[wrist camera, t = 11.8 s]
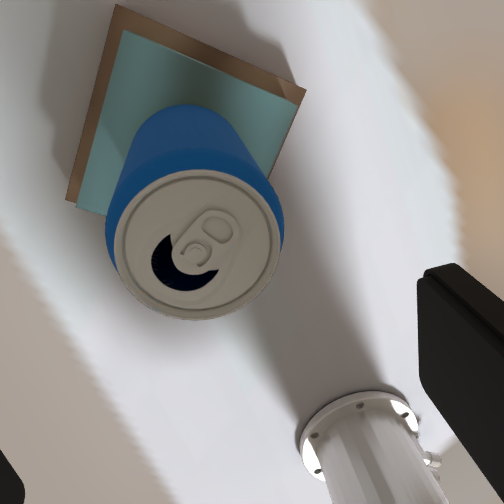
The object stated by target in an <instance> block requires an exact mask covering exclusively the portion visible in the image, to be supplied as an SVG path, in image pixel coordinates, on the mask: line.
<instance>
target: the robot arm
mask: <svg viewBox="0 0 504 504" xmlns="http://www.w3.org/2000/svg"><path fill="white" fill-rule="evenodd" d="M417 314H418V353H419V377H420V381H421V384H422V386H423V389H424V390H425V392H426V394H427V395H428V396H429V398H430V399H431V401H432V402H433V403H434V405H435V406H436V408H437V409H438V411H439V412H440V413H441V415H442V416H443V418H444V419H445V420H446V422H447V423H448V425H449V426H450V428H451V429H452V430H453V432H454V433H455V435H456V436H457V437H458V439H459V440H460V442H461V443H462V445H463V446H464V447H465V449H466V450H467V452H468V453H469V454H470V456H471V457H472V459H473V460H474V461H475V463H476V464H477V465H478V467H479V469H480V470H481V471H482V473H483V474H484V476H485V477H486V478H487V480H488V481H489V483H490V484H491V486H492V487H493V488H494V490H495V491H496V492H497V494H498V495H499V497H500V498H501V500H502V501H503V503H504V301H502V300H501V299H500V298H498V297H497V296H496V295H495V294H494V293H492V292H491V291H490V290H489V289H487V288H486V287H485V286H484V285H482V284H481V283H480V282H479V281H477V280H476V279H475V278H474V277H473V276H471V275H470V274H469V273H468V272H466V271H465V270H464V269H463V268H461V267H460V266H459V265H457V264H455V263H450V264H446V265H442V266H438V267H434V268H430V269H427V270H426V271H425V272H424V275H423V278H420V279H418V281H417ZM417 432H418V424H417V419H416V417H415V415H414V413H413V411H412V410H411V408H410V407H409V405H408V404H407V403H406V402H405V401H404V400H402V399H401V398H400V397H398V396H395V395H393V394H390V393H386V392H380V391H367V392H359V393H355V394H351V395H347V396H345V397H342V398H340V399H337V400H335V401H334V402H332V403H330V404H328V405H327V406H325V407H324V408H323V409H322V410H320V411H319V412H318V413H317V414H316V415H315V416H314V417H313V418H312V419H311V420H310V421H309V423H308V424H307V426H306V427H305V429H304V431H303V433H302V436H301V439H300V446H299V447H300V454H301V457H302V461H303V464H304V466H305V467H306V469H307V470H308V471H309V472H310V473H311V474H312V475H313V476H314V477H316V478H318V479H320V480H322V481H325V482H326V485H327V488H328V491H329V494H330V497H331V500H332V503H333V504H449V502H448V500H447V499H446V497H445V495H444V493H443V492H442V490H441V488H440V487H439V480H440V477H439V474H438V471H436V469H434V468H429V467H428V466H433V467H439V466H440V465H441V457H440V455H439V454H438V453H432V452H424V451H423V449H422V447H421V446H420V444H419V442H418V441H417V439H416V437H417ZM24 499H25V488H24V484H23V482H22V480H21V479H20V478H19V476H18V475H17V473H16V472H15V470H14V469H13V468H12V466H11V464H10V463H9V462H8V460H7V459H6V457H5V456H4V454H3V453H2V451H1V450H0V504H23V503H24Z"/></svg>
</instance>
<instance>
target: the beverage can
mask: <svg viewBox="0 0 504 504" xmlns="http://www.w3.org/2000/svg"><path fill="white" fill-rule="evenodd" d="M105 236H106V244H107V248H108V252H109V255H110V258H111V260H112V262H113V265H114V267H115V268H116V270H117V272H118V273H119V275H120V277H121V279H122V281H123V282H124V284H125V286H126V287H127V289H128V290H129V291H130V292H131V293H132V295H133V296H134V297H136V298H137V299H138V300H139V301H140V302H141V303H143V304H144V305H145V306H147V307H148V308H150V309H152V310H154V311H156V312H158V313H160V314H163V315H165V316H168V317H172V318H176V319H182V320H207V319H213V318H217V317H221V316H224V315H227V314H229V313H232V312H234V311H236V310H238V309H240V308H242V307H243V306H245V305H246V304H248V303H249V302H251V301H252V300H253V299H254V298H255V297H256V296H257V295H259V293H260V292H261V291H262V290H263V289H264V288H265V286H266V285H267V284H268V282H269V281H270V279H271V277H272V275H273V273H274V271H275V269H276V266H277V263H278V259H279V254H280V251H281V248H282V243H283V238H284V218H283V213H282V208H281V205H280V202H279V199H278V197H277V195H276V193H275V191H274V189H273V187H272V186H271V184H270V183H269V181H268V180H267V178H266V177H265V175H264V174H263V172H262V171H261V169H260V167H259V166H258V164H257V163H256V161H255V160H254V158H253V157H252V155H251V154H250V152H249V151H248V149H247V148H246V146H245V145H244V143H243V141H242V140H241V138H240V137H239V135H238V134H237V132H236V131H235V130H234V128H233V127H232V126H231V124H230V123H229V122H228V121H227V120H226V119H224V118H223V117H222V116H221V115H219V114H217V113H216V112H214V111H212V110H210V109H207V108H205V107H201V106H197V105H175V106H171V107H167V108H165V109H162V110H160V111H158V112H156V113H155V114H153V115H152V116H150V117H149V118H148V119H147V120H146V121H145V122H144V123H143V124H142V125H141V126H140V128H139V129H138V131H137V132H136V134H135V136H134V138H133V141H132V143H131V146H130V149H129V152H128V155H127V157H126V160H125V163H124V166H123V169H122V171H121V174H120V177H119V180H118V183H117V185H116V188H115V191H114V194H113V197H112V199H111V202H110V205H109V208H108V211H107V217H106V222H105Z"/></svg>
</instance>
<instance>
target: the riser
mask: <svg viewBox="0 0 504 504" xmlns="http://www.w3.org/2000/svg"><path fill="white" fill-rule="evenodd" d="M306 91H307V90H306V89H304V88H302V87H299V86H297V85H295V84H293V83H290V82H288V81H286V80H284V79H282V78H279V77H277V76H275V75H273V74H271V73H268V72H266V71H264V70H262V69H259V68H257V67H255V66H253V65H251V64H248V63H246V62H244V61H242V60H240V59H237V58H235V57H233V56H231V55H228V54H226V53H224V52H222V51H220V50H217V49H215V48H213V47H211V46H209V45H206V44H204V43H202V42H200V41H197V40H195V39H193V38H191V37H189V36H186V35H184V34H182V33H180V32H177V31H175V30H173V29H171V28H169V27H166V26H164V25H162V24H160V23H158V22H155V21H153V20H151V19H149V18H146V17H144V16H142V15H140V14H138V13H135V12H133V11H131V10H129V9H127V8H124V7H122V6H120V5H118V4H115V8H114V12H113V16H112V20H111V24H110V27H109V31H108V35H107V39H106V43H105V47H104V51H103V55H102V58H101V62H100V66H99V70H98V74H97V78H96V82H95V85H94V89H93V93H92V97H91V101H90V105H89V109H88V113H87V116H86V120H85V124H84V128H83V132H82V136H81V140H80V144H79V147H78V151H77V155H76V159H75V163H74V167H73V171H72V174H71V178H70V182H69V186H68V190H67V194H66V198H65V200H67V201H71V202H74V203H77V204H76V207H77V208H80V209H84V210H87V211H90V212H94V213H97V214H100V215H104V216H107V211H108V208H109V205H110V202H111V199H112V197H113V194H114V191H115V188H116V185H117V183H118V180H119V177H120V174H121V171H122V169H123V166H124V163H125V160H126V157H127V155H128V152H129V149H130V146H131V143H132V141H133V138H134V136H135V134H136V132H137V131H138V129H139V128H140V126H141V125H142V124H143V123H144V122H145V121H146V120H147V119H148V118H149V117H150V116H152V115H153V114H155V113H156V112H158V111H160V110H162V109H165V108H167V107H171V106H175V105H197V106H201V107H205V108H207V109H210V110H212V111H214V112H216V113H217V114H219V115H221V116H222V117H223V118H224V119H226V120H227V121H228V122H229V123H230V124H231V126H232V127H233V128H234V130H235V131H236V132H237V134H238V135H239V137H240V138H241V140H242V141H243V143H244V145H245V146H246V148H247V149H248V151H249V152H250V154H251V155H252V157H253V158H254V160H255V161H256V163H257V164H258V166H259V167H260V169H261V171H262V172H263V174H264V175H265V177H266V178H267V180H268V178H269V176H270V174H271V171H272V169H273V167H274V164H275V162H276V160H277V157H278V155H279V153H280V150H281V148H282V146H283V144H284V141H285V139H286V137H287V134H288V132H289V130H290V127H291V125H292V123H293V121H294V118H295V116H296V114H297V111H298V109H299V107H300V104H301V102H302V100H303V97H304V95H305V93H306Z"/></svg>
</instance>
